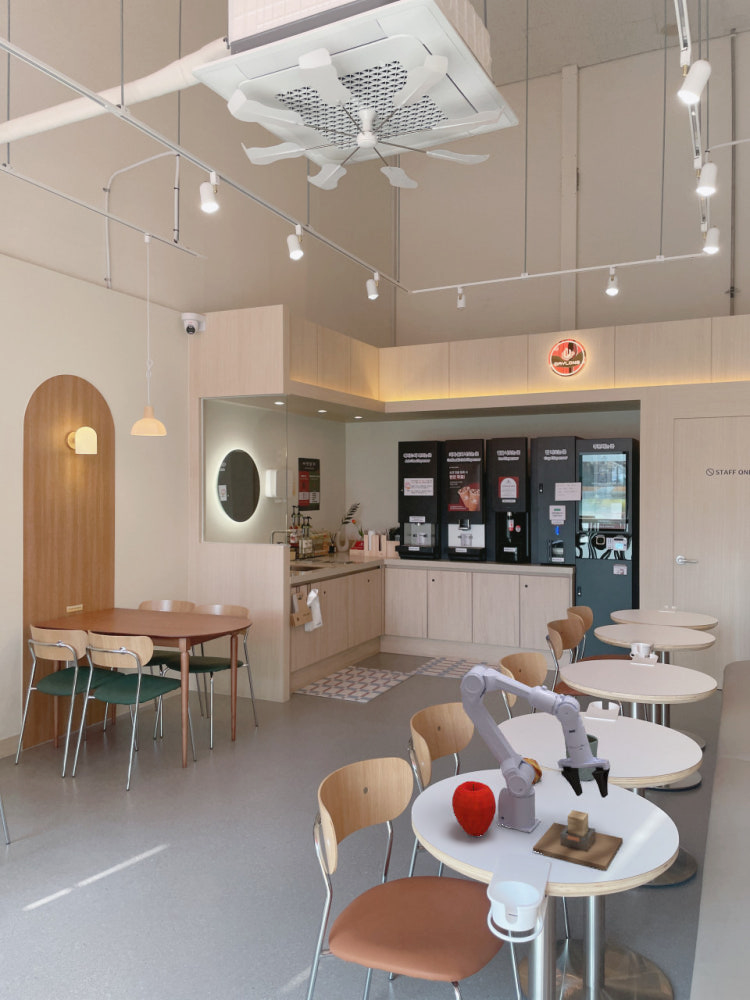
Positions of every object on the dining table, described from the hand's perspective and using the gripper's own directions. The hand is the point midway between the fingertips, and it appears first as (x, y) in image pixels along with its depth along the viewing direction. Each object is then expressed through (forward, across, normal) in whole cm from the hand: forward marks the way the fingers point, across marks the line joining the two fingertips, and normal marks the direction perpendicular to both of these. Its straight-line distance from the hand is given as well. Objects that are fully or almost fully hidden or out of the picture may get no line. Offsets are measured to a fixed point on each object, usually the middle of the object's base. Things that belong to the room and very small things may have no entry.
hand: (592, 795), depth 196 cm
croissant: (+5, +36, -18) cm, 40 cm away
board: (+9, +2, +10) cm, 14 cm away
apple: (+3, +24, +21) cm, 33 cm away
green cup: (+9, +25, -32) cm, 41 cm away
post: (+8, +1, +10) cm, 13 cm away
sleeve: (+8, +1, +10) cm, 13 cm away
